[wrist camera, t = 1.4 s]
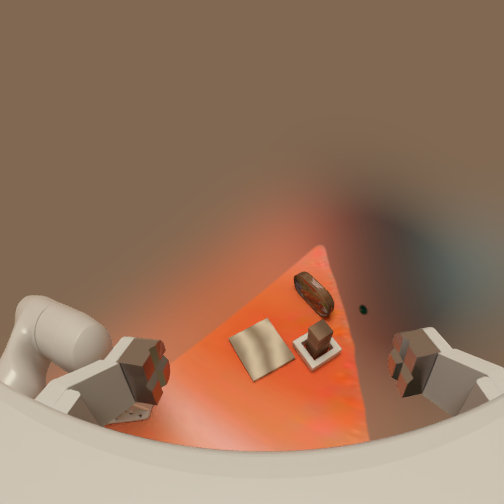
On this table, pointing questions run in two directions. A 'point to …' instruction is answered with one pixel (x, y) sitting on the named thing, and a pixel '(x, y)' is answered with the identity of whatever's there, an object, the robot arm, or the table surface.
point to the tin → (314, 293)
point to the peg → (318, 339)
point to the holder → (314, 365)
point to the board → (261, 349)
